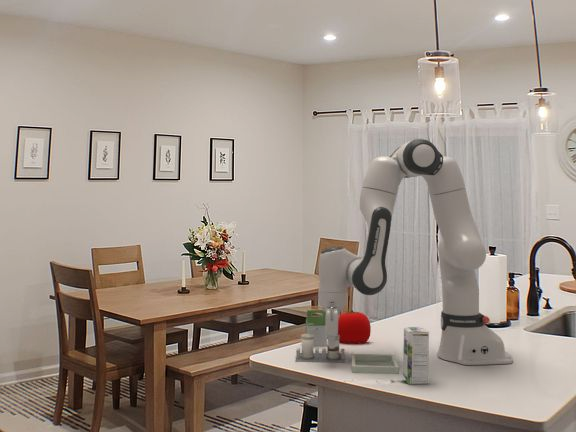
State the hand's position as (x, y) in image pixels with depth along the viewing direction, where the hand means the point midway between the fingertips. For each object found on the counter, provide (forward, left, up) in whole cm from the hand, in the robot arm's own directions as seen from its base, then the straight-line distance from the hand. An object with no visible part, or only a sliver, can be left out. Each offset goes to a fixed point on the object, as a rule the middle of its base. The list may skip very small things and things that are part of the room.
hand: (332, 343), depth 177 cm
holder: (+4, 0, -6) cm, 7 cm away
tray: (-12, +8, -6) cm, 16 cm away
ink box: (+6, -15, -6) cm, 17 cm away
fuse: (0, 0, -4) cm, 4 cm away
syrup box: (-23, +17, -6) cm, 30 cm away
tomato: (-6, -22, -6) cm, 24 cm away
